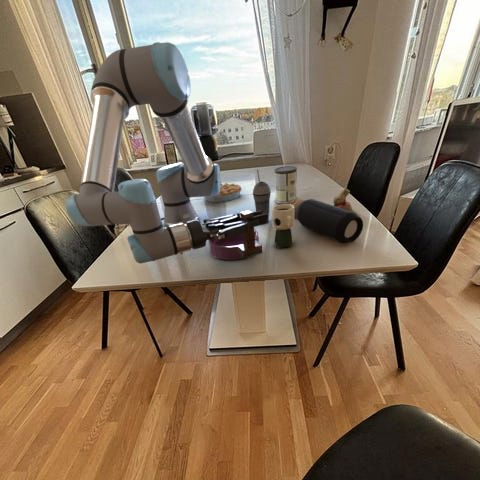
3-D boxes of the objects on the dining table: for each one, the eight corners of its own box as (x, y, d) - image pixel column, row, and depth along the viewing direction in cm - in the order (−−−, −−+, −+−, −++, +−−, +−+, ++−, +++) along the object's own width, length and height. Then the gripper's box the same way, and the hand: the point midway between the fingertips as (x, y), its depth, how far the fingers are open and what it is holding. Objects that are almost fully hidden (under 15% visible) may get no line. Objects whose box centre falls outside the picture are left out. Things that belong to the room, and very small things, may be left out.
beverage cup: (270, 224, 115) (269, 170, 102) (253, 225, 117) (249, 172, 104) (272, 218, 120) (271, 166, 108) (255, 219, 122) (252, 167, 110)
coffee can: (280, 196, 144) (280, 165, 135) (299, 197, 139) (300, 166, 130) (271, 202, 138) (270, 171, 129) (290, 204, 133) (291, 171, 124)
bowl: (201, 255, 99) (198, 242, 96) (230, 237, 109) (228, 224, 106) (240, 265, 90) (238, 250, 87) (268, 244, 101) (267, 230, 97)
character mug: (267, 242, 102) (266, 205, 94) (285, 237, 104) (285, 201, 95) (280, 253, 94) (280, 214, 86) (300, 248, 95) (301, 209, 87)
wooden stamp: (243, 258, 85) (239, 217, 77) (237, 253, 88) (233, 212, 81) (262, 252, 87) (260, 211, 79) (255, 247, 90) (253, 207, 82)
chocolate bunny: (332, 210, 121) (335, 185, 115) (352, 209, 119) (355, 184, 113) (332, 214, 117) (334, 189, 111) (352, 214, 115) (355, 188, 108)
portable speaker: (362, 241, 95) (367, 211, 89) (339, 249, 92) (343, 218, 86) (314, 221, 113) (315, 195, 107) (293, 227, 110) (294, 200, 104)
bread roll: (293, 227, 119) (299, 212, 113) (281, 211, 123) (285, 196, 116) (312, 221, 123) (318, 206, 116) (299, 206, 126) (305, 190, 119)
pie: (197, 196, 160) (195, 187, 157) (232, 188, 166) (231, 179, 163) (210, 206, 144) (209, 195, 141) (248, 196, 150) (248, 186, 146)
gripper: (183, 240, 85) (253, 221, 91) (199, 259, 73) (278, 237, 79) (177, 215, 80) (251, 197, 87) (193, 231, 69) (277, 210, 75)
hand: (263, 216), depth 83 cm, fingers closed on wooden stamp, 3 cm apart
